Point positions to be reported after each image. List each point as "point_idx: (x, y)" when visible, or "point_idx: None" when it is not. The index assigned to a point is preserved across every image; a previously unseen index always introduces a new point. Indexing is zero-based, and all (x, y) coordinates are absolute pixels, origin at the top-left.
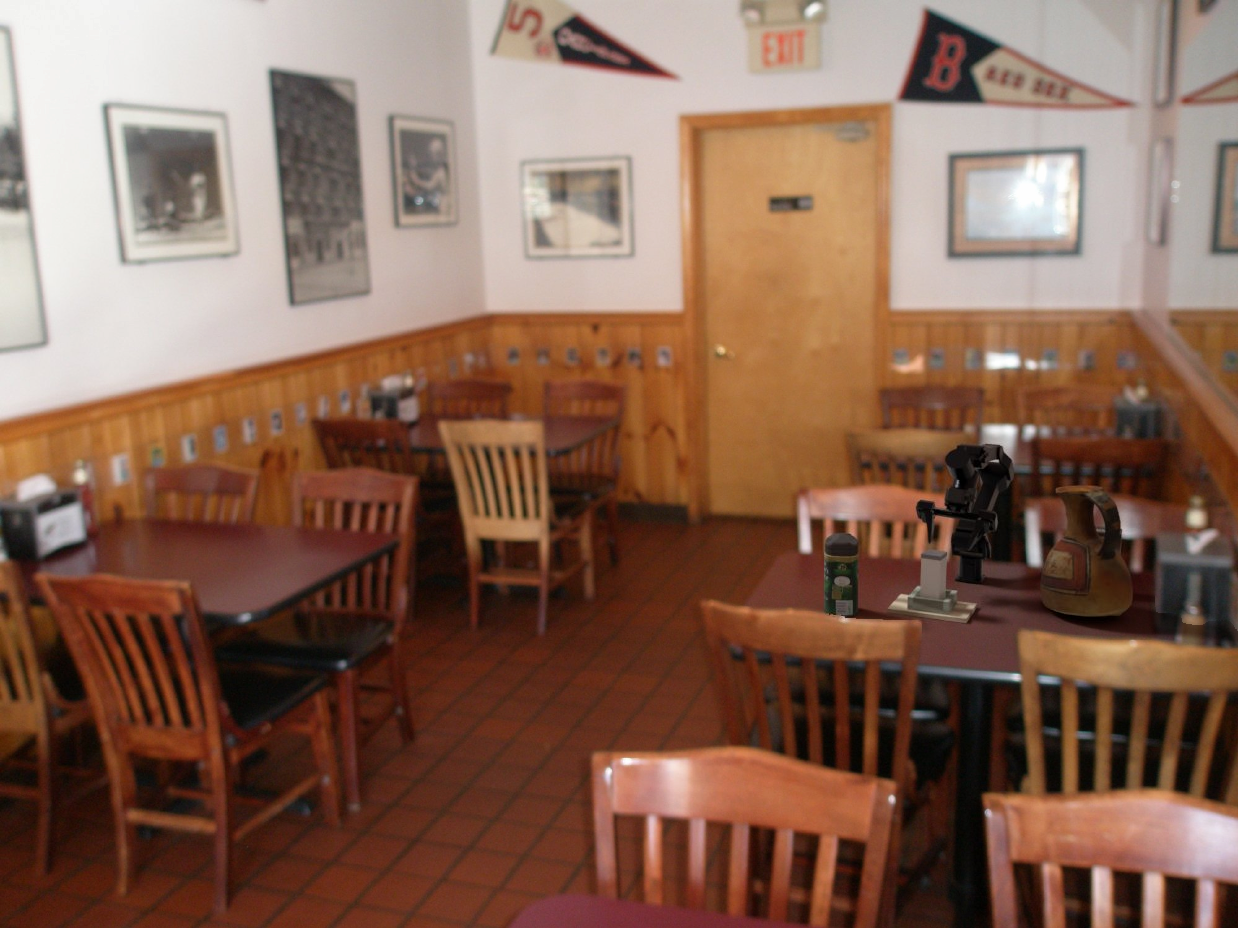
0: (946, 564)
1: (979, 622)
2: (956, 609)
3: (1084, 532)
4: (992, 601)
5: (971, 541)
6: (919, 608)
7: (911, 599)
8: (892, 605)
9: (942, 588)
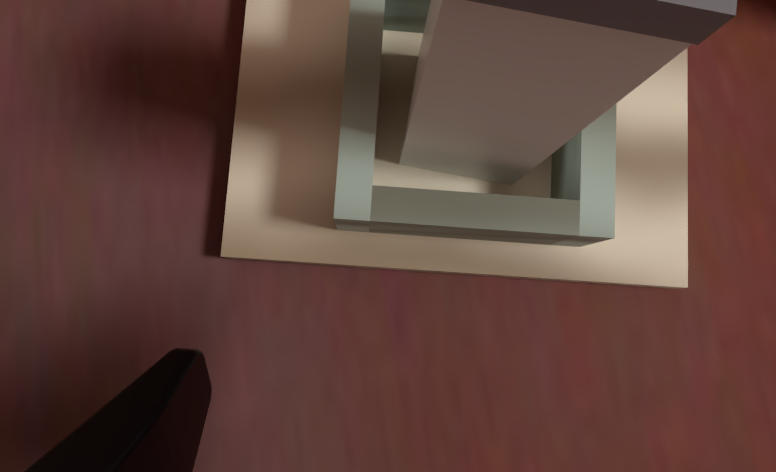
0: (430, 47)
1: (188, 11)
2: (324, 105)
3: None
4: None
5: (96, 439)
6: None
7: None
8: (675, 57)
9: (421, 55)
